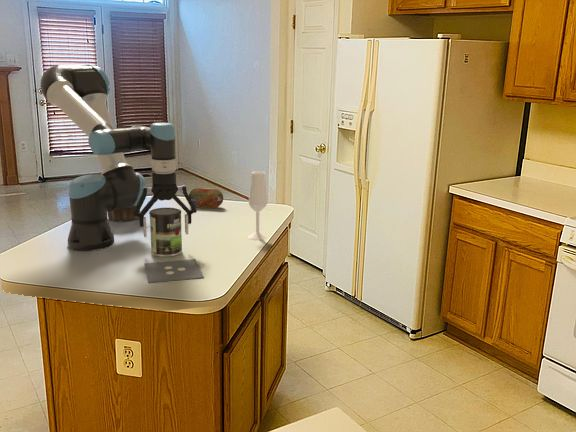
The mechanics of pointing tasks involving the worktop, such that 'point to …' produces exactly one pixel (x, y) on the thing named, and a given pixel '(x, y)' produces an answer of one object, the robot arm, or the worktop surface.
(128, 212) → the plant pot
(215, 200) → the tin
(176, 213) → the coffee can
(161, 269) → the dot mat
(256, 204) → the champagne flute
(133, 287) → the worktop surface
